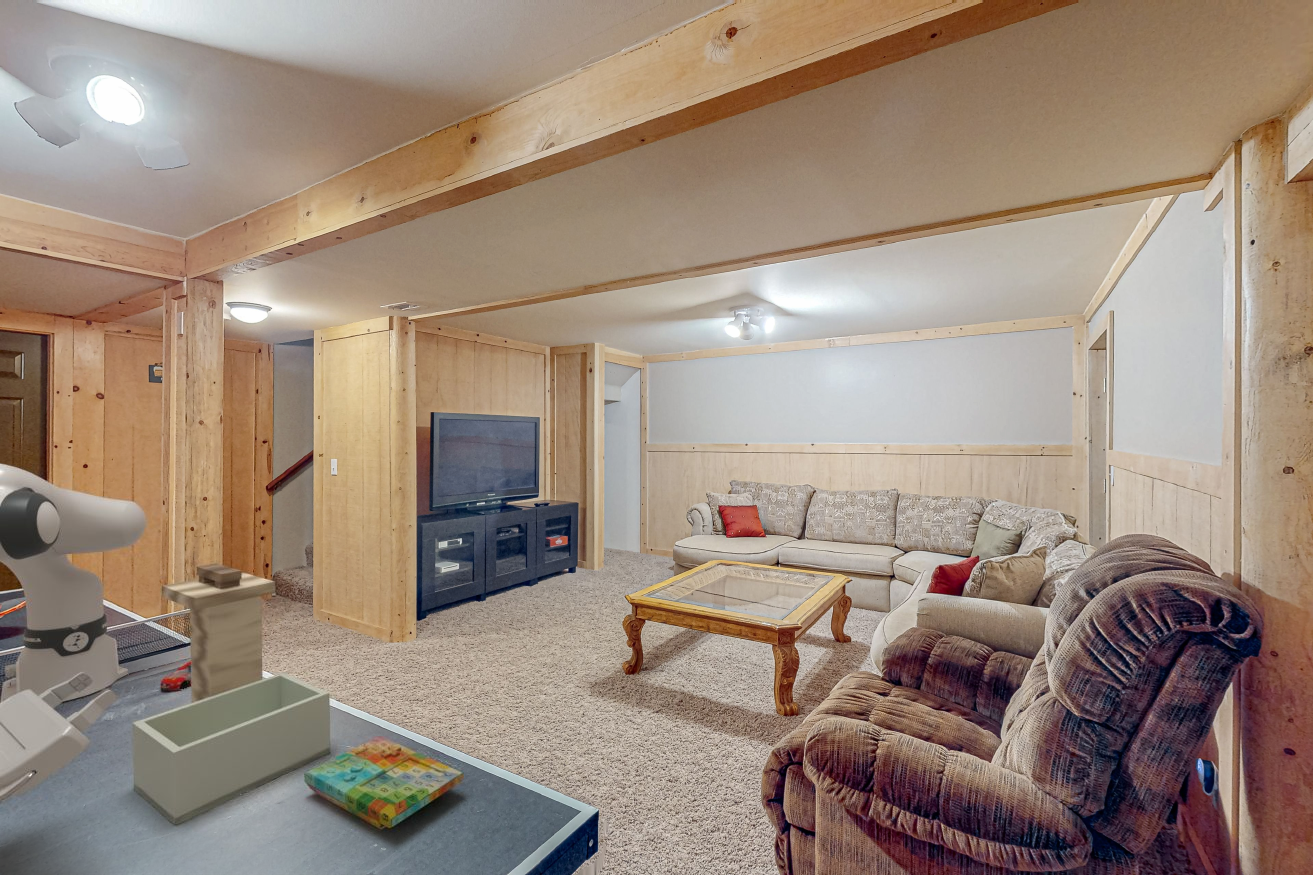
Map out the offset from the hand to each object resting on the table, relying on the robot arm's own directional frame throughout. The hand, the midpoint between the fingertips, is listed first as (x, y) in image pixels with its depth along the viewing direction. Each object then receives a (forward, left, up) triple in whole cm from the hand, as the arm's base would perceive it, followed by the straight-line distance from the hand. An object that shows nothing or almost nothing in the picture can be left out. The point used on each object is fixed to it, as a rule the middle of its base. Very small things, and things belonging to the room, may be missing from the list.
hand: (100, 684), depth 79 cm
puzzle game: (+26, +24, -20) cm, 41 cm away
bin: (0, +16, -20) cm, 25 cm away
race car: (-45, +27, -20) cm, 56 cm away
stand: (-17, +20, -20) cm, 33 cm away
